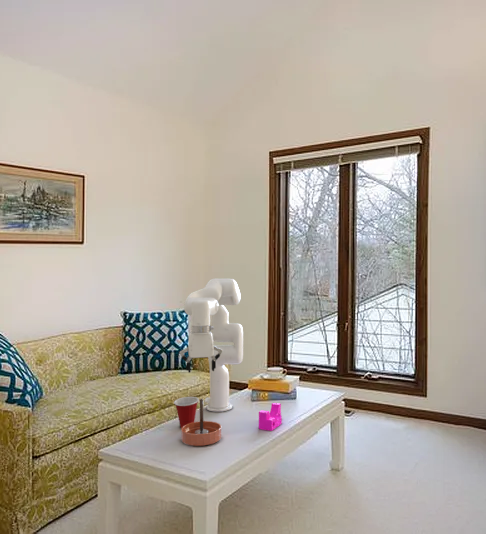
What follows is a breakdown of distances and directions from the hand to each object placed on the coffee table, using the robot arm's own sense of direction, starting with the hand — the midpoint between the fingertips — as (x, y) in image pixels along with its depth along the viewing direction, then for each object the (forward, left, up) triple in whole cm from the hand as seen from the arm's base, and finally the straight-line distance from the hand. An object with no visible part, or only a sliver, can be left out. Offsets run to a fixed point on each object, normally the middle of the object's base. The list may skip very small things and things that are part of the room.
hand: (201, 371), depth 201 cm
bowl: (0, 0, -28) cm, 28 cm away
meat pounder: (0, 0, -28) cm, 28 cm away
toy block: (+16, +30, -28) cm, 44 cm away
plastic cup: (-16, +9, -28) cm, 34 cm away
